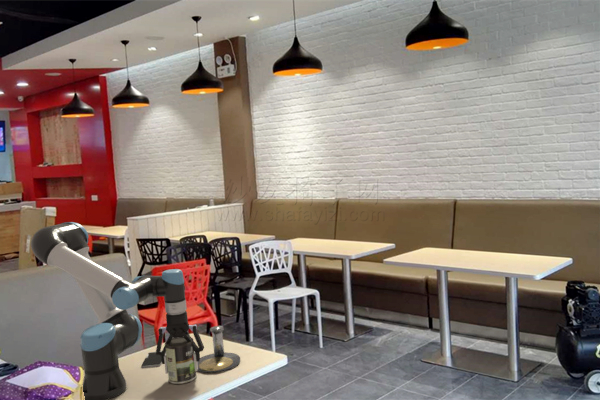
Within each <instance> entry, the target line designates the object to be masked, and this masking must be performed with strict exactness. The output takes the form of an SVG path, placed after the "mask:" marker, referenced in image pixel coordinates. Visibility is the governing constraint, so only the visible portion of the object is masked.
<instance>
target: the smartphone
mask: <svg viewBox="0 0 600 400" xmlns="http://www.w3.org/2000/svg"><path fill="white" fill-rule="evenodd" d="M165 354H166V353H165ZM162 365H163V364H162V360H161V355H156V351H150V352H147V354H146V356H145V358H144V360H143V362H142V364H141V368H142V369H144V368H153V367H160V366H162Z"/></svg>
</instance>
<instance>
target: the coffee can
mask: <svg viewBox="0 0 600 400" xmlns="http://www.w3.org/2000/svg"><path fill="white" fill-rule="evenodd" d="M191 338H192V341H190V342H187V341H186V339H184V337H177V338H174V337H173V338H172V340H171V342H170V343H169V344H167V343H166V342H167V340H166V341H165V342H164V346H165V347H166V358H167V368H168V373H167V374H168V375H167V376H168V377H167V378H168V382H169V383H170V384H174V385H175V384H176V385H180V384H181V385H182V384H187V383H190V382H192V381H194V380H196V378H197V371H195V367H194V356H193V354H194V350H193V349H192V343H193V341H194V338H193V337H191Z"/></svg>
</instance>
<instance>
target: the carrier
mask: <svg viewBox="0 0 600 400" xmlns="http://www.w3.org/2000/svg"><path fill="white" fill-rule="evenodd" d="M209 330H210V333H211V334H212V345H213V353H209V354H206V355H203V356H201V357H200V360H199V361H198V370H197V371H196V372H199V373H203V374H204V373H205V374H217V373H222V372H226V371H230V370H232V369H234V368H235V367H237V366H238V365H240V363H241V356H240V355H238V354H237V353H233V352H225V349H224V348H225V347H224V346H225V345H224V338H223V337H224V335H223V331H224V326H223V325H215V326H212V327H210V328H209Z"/></svg>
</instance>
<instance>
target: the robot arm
mask: <svg viewBox="0 0 600 400" xmlns="http://www.w3.org/2000/svg"><path fill="white" fill-rule="evenodd" d="M30 247H31V251H32V253H33V254H34V256H35V257H36V258H37V259H38V260H39V261H40V262H42V263H44V264H46V265H47V266H49V267H51V268H52V267H57V268H58V269H60V270H62V271H64V272H65V273H67V274H69V275H71V276H72V277H73V278H74V280H75V282H76V283H77V285H78V287H79V288H80V290H81V292H82V294H83V295H84V297H85V299H86V301H87V302H88V304H89V306H90V308H91V309H92V310H93V312H94V314H95V316H96V318H97V319H98V321H97V323H96V324H95V325H91V326H89V327H87V328H86V329H84V331H83V332H81V335H80V348H81V349H80V350H81V356H82V363H83V372H84V377H83V382H82V385H83V392H84V396H85V400H109V399H113V398H115V397H117V396H120V395H121V394H123V393H124V392H125V391H126V390H127V380H126V379H125V376H124V374H123V373H122V371H121V369H120V364H119V355H120V354H122V353H123V352H125V351H126V350H129V349H130V348H132V347H133V346H135V344H137V343H138V342H139V340H140V339H141V337H142V334H143V326H142V323H141V321H140V319H139V318H138V317H137V316H136V315H133V314H131V313H129V312H128V310H129V309H131V308H133V307H135V306H137V305H138V304H140V303H142V302H144V301H146V300H148V299H149V298H153V297H156V298H157V297H158V298H159V297H161V298H162V297H163V299H164V309H165V310H164V311H165V313H166V315H165V318H166V319H165V320H166V326H164V327H163V326H160V327H159V328H158V340H157V343H156V344H157V345H156V348H155V352H156V355H161V360H162V364H161V365H164V369H165V370H164V371H165V374H166V375H167V374H168V368H167V358H166V354H165V353H166V347H165V345H164V347H163V348H162V345H163V339H164V335H165V333H166V332H167V333H168V335H169V336H168V338H167V340H166V341H167V342H166V341H165V342H166V343H167V344H169V343H170V342H171V340H172V339H173V338H177V337H184V339H186V341H187V342H190V341H192V338H193V337H194V339H195V340H193V343H192V349H193V350H194V354H193V356H194V367H195V371H196V372H198V371H197V370H198V361H199V360H200V358H201V357H200V355H201V354H200V352H203V351H204V350H205V349H204V348H205V346H204V343H203V341H202V339H201V336H200V334H199V331H198V324H196V323H194V324H189V319H188V311H187V300H186V290H185V289H186V288H185V279H184V273H183V270H181V269H179V268H173V269H170V268H169V269H166V270H164V271H162V272H161V275H141V276H140V275H139V276H135V277H134V278H133V280H132V281H131V282H130V281H128V280H126V279H124V278H122V277H121V276H119V275H117V274H115V273H114V272H112V271H110V270H109V269H107V268H105V267H103V266H101V265H99V264H98V263H96V262H94V261H93V260H92V258H91V256H90V254H89V251H90V246H89V234H88V231H87V229H86V228H85V227H84V226H83V225H81V224H80V223H78V222H74V221H67V222H66V221H65V222H62V223H58V224H55V225H49V226H44V227H42V228H40V229H38V230H37V231H36V232H35V233H34V234H33V236H32V238H31V242H30ZM189 330H190V331H191V332H192V335H193V337H191V336H190V333H189V332H188V331H189Z"/></svg>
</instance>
